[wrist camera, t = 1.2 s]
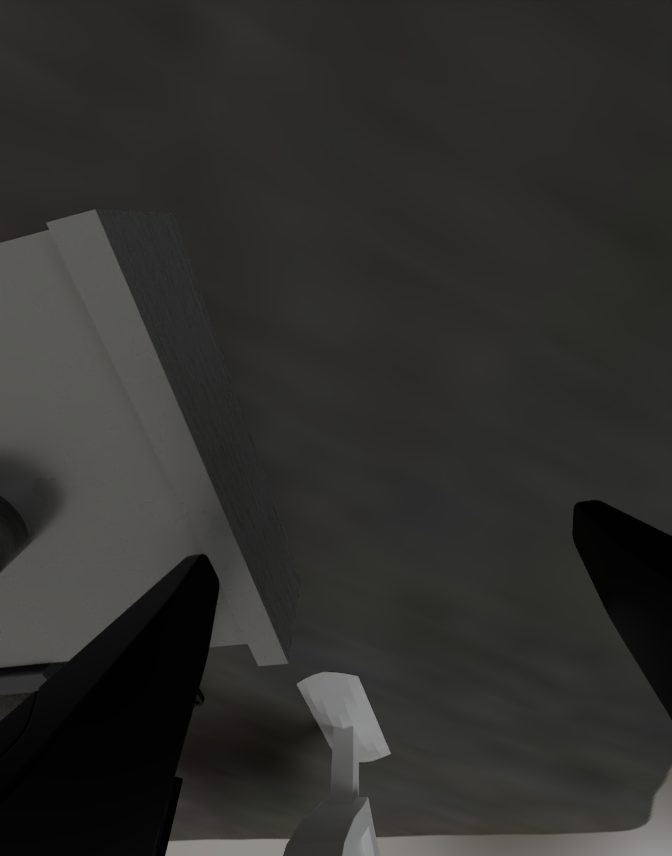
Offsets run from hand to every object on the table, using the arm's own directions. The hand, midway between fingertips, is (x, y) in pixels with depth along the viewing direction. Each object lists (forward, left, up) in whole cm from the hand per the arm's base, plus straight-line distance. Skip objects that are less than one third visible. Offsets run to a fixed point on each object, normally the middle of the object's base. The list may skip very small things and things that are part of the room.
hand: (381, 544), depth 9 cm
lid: (0, +14, -7) cm, 15 cm away
